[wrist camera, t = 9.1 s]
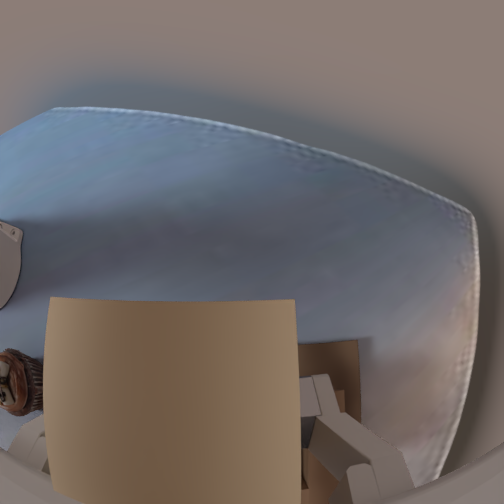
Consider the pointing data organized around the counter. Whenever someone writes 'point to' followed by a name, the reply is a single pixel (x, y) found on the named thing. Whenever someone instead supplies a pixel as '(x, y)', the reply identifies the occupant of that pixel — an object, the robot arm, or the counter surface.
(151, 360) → the rail end
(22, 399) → the cupcake
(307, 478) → the post block
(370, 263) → the counter surface
